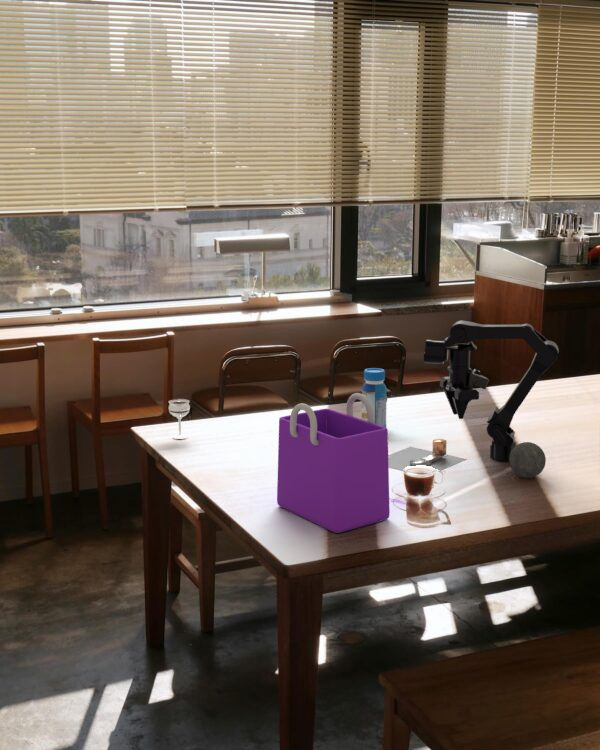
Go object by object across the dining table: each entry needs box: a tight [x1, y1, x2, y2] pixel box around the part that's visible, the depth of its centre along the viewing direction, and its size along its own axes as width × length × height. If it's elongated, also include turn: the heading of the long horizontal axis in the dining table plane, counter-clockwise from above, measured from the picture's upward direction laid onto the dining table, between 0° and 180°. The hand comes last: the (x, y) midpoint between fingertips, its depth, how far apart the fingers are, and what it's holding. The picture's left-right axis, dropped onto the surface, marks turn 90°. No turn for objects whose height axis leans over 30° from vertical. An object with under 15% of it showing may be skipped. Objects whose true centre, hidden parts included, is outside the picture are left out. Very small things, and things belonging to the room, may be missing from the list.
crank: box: [410, 438, 448, 466], centre depth 297 cm, size 15×6×5 cm, turn 139°
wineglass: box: [168, 398, 191, 436], centre depth 326 cm, size 7×7×12 cm
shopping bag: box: [276, 392, 390, 534], centre depth 257 cm, size 28×22×30 cm
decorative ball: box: [508, 441, 547, 479], centre depth 286 cm, size 10×10×10 cm
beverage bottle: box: [361, 367, 388, 428], centre depth 333 cm, size 8×8×20 cm
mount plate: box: [388, 446, 467, 472], centre depth 299 cm, size 20×21×1 cm
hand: (458, 416), depth 301 cm, fingers open, 5 cm apart
